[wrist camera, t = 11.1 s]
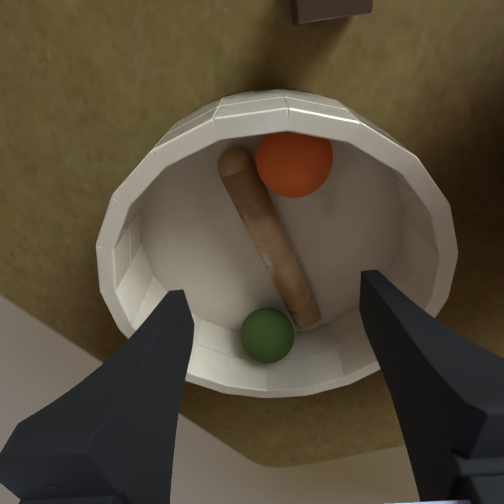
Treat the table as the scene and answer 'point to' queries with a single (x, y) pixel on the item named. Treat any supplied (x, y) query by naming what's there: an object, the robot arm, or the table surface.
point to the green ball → (267, 335)
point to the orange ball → (293, 163)
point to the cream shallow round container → (297, 230)
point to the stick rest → (327, 9)
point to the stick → (268, 235)
